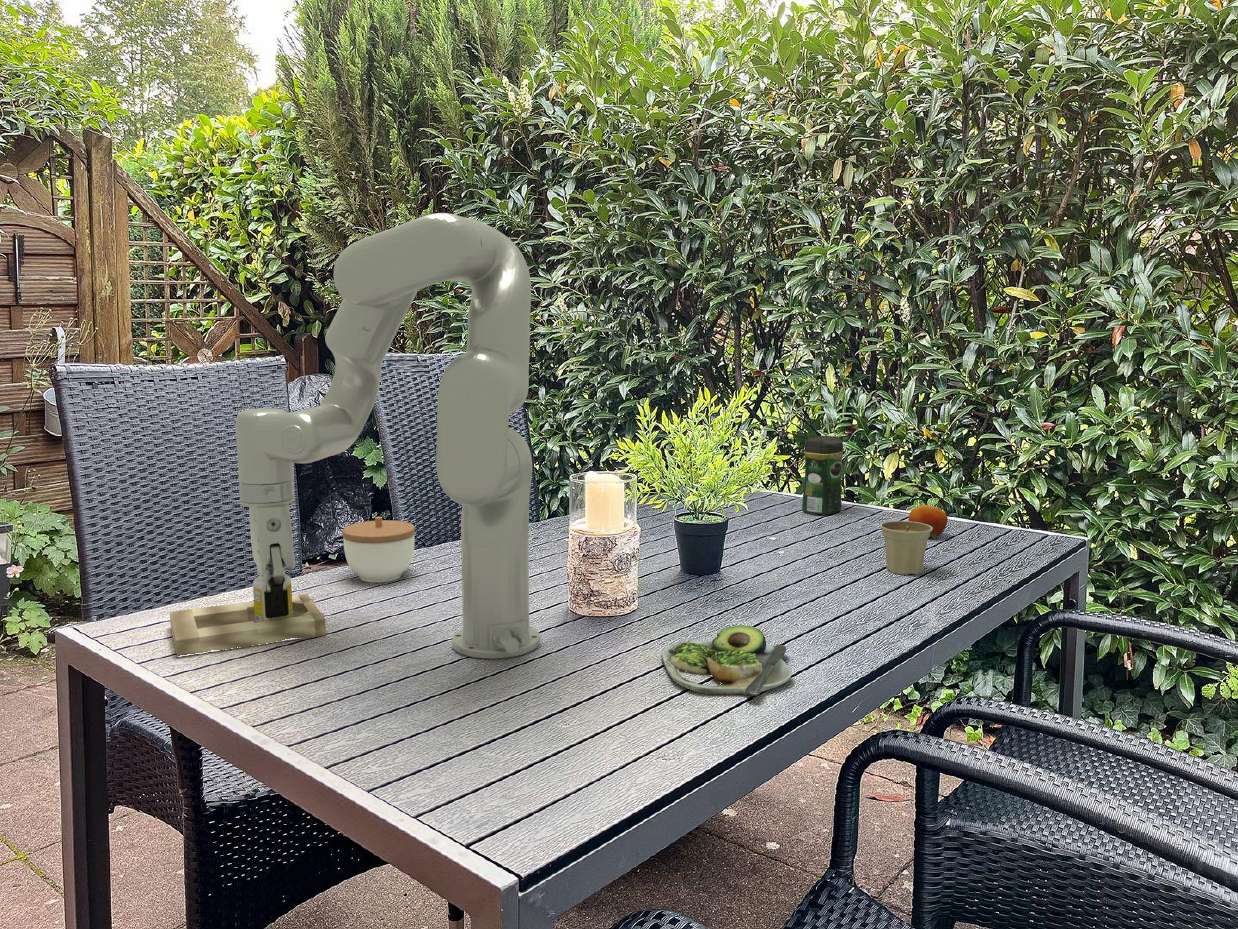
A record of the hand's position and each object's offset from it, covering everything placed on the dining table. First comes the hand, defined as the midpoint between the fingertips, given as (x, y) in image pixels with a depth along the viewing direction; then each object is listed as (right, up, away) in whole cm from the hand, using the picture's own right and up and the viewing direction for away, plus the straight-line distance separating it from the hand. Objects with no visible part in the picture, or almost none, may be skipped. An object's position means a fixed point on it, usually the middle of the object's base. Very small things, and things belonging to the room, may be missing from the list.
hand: (273, 609), depth 141 cm
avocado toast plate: (+67, -6, -14) cm, 68 cm away
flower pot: (+105, +2, +35) cm, 111 cm away
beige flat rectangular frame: (-3, -3, -1) cm, 5 cm away
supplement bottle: (0, -3, 0) cm, 3 cm away
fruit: (+119, +6, +62) cm, 134 cm away
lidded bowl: (+9, +1, +28) cm, 29 cm away
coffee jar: (+101, +10, +86) cm, 133 cm away
